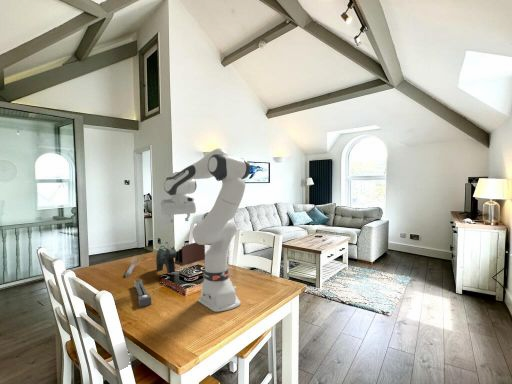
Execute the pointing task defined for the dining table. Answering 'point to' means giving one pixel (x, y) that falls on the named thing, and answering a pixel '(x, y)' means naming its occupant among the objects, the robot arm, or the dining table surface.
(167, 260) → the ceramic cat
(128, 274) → the kitchen whisk
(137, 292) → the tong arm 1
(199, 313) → the dining table surface
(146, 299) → the tong hinge block
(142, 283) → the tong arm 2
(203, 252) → the letter holder
